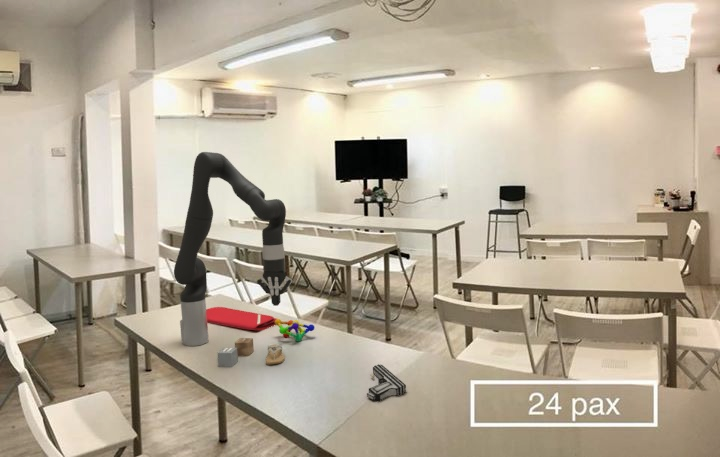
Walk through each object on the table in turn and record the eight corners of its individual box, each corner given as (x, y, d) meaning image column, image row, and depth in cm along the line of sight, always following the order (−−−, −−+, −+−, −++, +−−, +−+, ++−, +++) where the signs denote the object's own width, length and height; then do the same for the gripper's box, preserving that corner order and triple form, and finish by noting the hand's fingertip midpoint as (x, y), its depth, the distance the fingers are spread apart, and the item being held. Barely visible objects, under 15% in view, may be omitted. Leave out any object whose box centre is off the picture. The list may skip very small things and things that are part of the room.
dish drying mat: (218, 311, 246) (218, 303, 246) (281, 324, 223) (281, 315, 223) (191, 320, 234) (190, 312, 233) (255, 334, 210) (254, 325, 210)
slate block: (218, 366, 177) (217, 352, 176) (224, 361, 182) (223, 346, 181) (232, 367, 176) (231, 352, 176) (238, 361, 181) (237, 347, 181)
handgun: (371, 394, 146) (408, 386, 150) (347, 370, 163) (381, 363, 168) (371, 404, 146) (409, 395, 151) (347, 379, 164) (382, 372, 168)
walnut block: (235, 355, 187) (234, 342, 186) (241, 350, 192) (240, 337, 191) (248, 356, 186) (247, 342, 185) (253, 351, 191) (252, 337, 190)
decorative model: (298, 320, 213) (318, 318, 201) (297, 342, 211) (317, 341, 199) (270, 319, 205) (289, 317, 193) (269, 341, 203) (288, 340, 191)
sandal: (266, 367, 175) (265, 353, 175) (263, 351, 190) (262, 338, 190) (286, 365, 177) (285, 351, 176) (281, 349, 192) (280, 336, 191)
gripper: (251, 258, 177) (254, 307, 179) (288, 258, 175) (291, 308, 177) (259, 254, 185) (262, 301, 187) (295, 254, 182) (297, 302, 185)
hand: (276, 305), depth 182 cm, fingers closed
